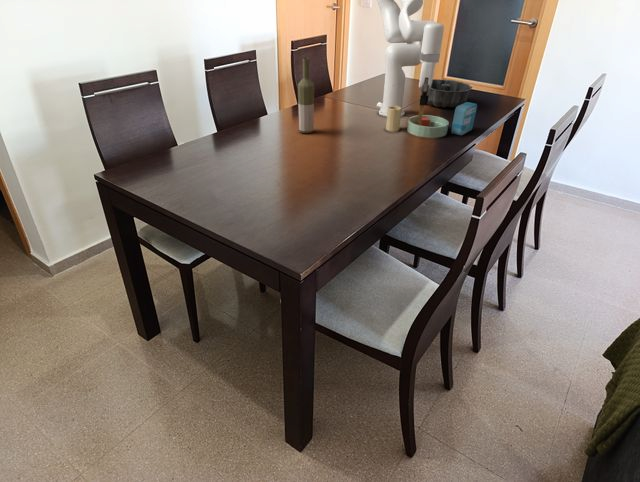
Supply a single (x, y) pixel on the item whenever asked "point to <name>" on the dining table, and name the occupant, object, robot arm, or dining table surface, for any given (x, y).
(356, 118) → the dining table surface
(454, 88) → the bundt pan
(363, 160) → the dining table surface
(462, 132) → the data package
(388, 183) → the dining table surface
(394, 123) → the crock
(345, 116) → the dining table surface
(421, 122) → the stick
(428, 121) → the block
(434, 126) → the bowl
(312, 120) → the bottle
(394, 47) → the robot arm
